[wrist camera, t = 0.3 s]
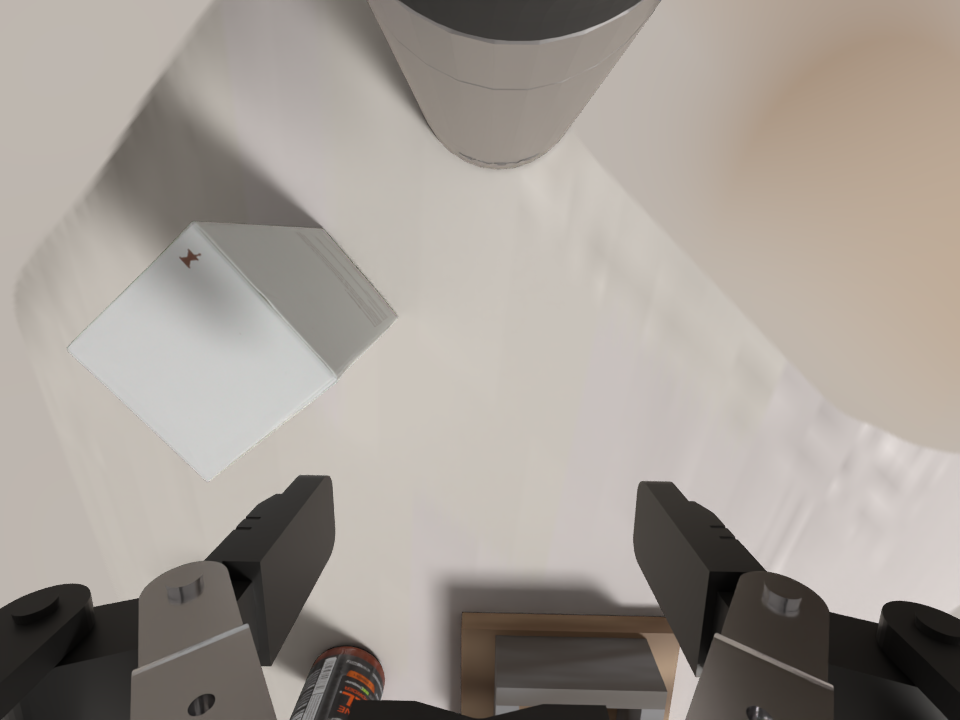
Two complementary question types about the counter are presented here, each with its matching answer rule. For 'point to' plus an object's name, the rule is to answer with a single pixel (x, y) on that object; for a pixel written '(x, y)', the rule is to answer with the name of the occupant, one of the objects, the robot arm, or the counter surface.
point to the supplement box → (232, 336)
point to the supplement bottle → (339, 684)
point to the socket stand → (567, 663)
